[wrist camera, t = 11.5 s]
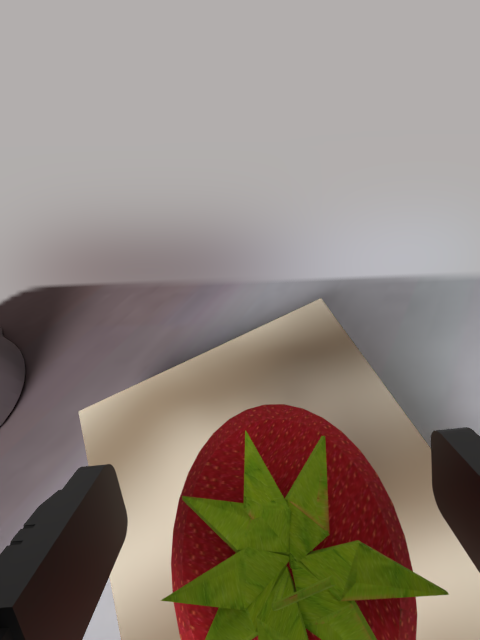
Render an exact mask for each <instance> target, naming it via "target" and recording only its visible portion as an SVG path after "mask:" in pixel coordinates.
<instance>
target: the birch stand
mask: <svg viewBox="0 0 480 640" xmlns="http://www.w3.org/2000/svg"><path fill="white" fill-rule="evenodd" d="M268 404H285V405H290V406H294V407H299V408H303V409H305V410H308V411H310V412H312V413H314V414H316V415H318V416H320V417H323V418H324V419H325V420H327V421H328V422H330V423H331V424H332V425H334V426H335V427H336V428H338V429H339V430H341V431H342V432H343V433H344V434H345V435H346V436H347V437H348V438H349V439H350V440H351V441H352V442H353V443H354V444H355V445H356V446H357V447H358V448H359V450H360V451H361V452H362V453H363V455H364V456H365V457H366V459H367V460H368V462H369V463H370V464H371V466H372V467H373V469H374V470H375V471H376V473H377V474H378V476H379V478H380V480H381V482H382V484H383V486H384V488H385V489H386V491H387V493H388V495H389V497H390V499H391V501H392V503H393V505H394V508H395V511H396V513H397V516H398V519H399V522H400V524H401V527H402V530H403V532H404V535H405V538H406V543H407V547H408V552H409V556H410V560H411V565H412V569H413V572H415V573H416V574H418V575H420V576H422V577H423V578H425V579H427V580H428V581H430V582H432V583H434V584H435V585H437V586H439V587H441V588H442V589H444V590H446V591H447V592H448V594H449V595H437V596H420V597H416V605H417V631H416V640H480V573H479V571H478V570H477V568H476V567H475V565H474V564H473V562H472V561H471V559H470V558H469V556H468V554H467V553H466V551H465V550H464V548H463V547H462V545H461V544H460V542H459V541H458V539H457V538H456V536H455V535H454V533H453V531H452V530H451V528H450V527H449V525H448V524H447V522H446V521H445V519H444V518H443V516H442V514H441V513H440V511H439V509H438V506H437V504H436V501H435V498H434V494H433V489H432V463H431V448H430V447H429V445H428V444H427V443H426V441H425V440H424V439H423V437H422V436H421V435H420V433H419V432H418V430H417V429H416V428H415V426H414V425H413V424H412V422H411V421H410V419H409V418H408V417H407V415H406V414H405V413H404V411H403V410H402V408H401V407H400V406H399V404H398V403H397V402H396V400H395V399H394V398H393V396H392V395H391V393H390V392H389V391H388V389H387V388H386V387H385V385H384V384H383V382H382V381H381V380H380V378H379V377H378V376H377V374H376V373H375V371H374V370H373V369H372V367H371V366H370V365H369V363H368V362H367V361H366V359H365V358H364V356H363V355H362V354H361V352H360V351H359V350H358V348H357V347H356V345H355V344H354V343H353V341H352V340H351V339H350V337H349V336H348V334H347V333H346V332H345V330H344V329H343V328H342V326H341V325H340V324H339V322H338V321H337V319H336V318H335V317H334V315H333V314H332V313H331V311H330V310H329V308H328V307H327V306H326V304H325V303H324V302H323V300H322V299H321V298H320V299H318V300H316V301H314V302H312V303H310V304H307V305H305V306H303V307H301V308H299V309H297V310H295V311H292V312H290V313H288V314H286V315H284V316H282V317H280V318H277V319H275V320H273V321H271V322H269V323H267V324H265V325H263V326H260V327H258V328H256V329H254V330H252V331H250V332H248V333H245V334H243V335H241V336H239V337H237V338H235V339H233V340H230V341H228V342H226V343H224V344H222V345H220V346H218V347H215V348H213V349H211V350H209V351H207V352H205V353H203V354H201V355H198V356H196V357H194V358H192V359H190V360H188V361H186V362H183V363H181V364H179V365H177V366H175V367H173V368H171V369H168V370H166V371H164V372H162V373H160V374H158V375H156V376H153V377H151V378H149V379H147V380H145V381H143V382H141V383H139V384H136V385H134V386H132V387H130V388H128V389H126V390H124V391H121V392H119V393H117V394H115V395H113V396H111V397H109V398H106V399H104V400H102V401H100V402H98V403H96V404H94V405H91V406H89V407H87V408H85V409H83V410H81V411H79V417H80V422H81V427H82V433H83V438H84V443H85V449H86V454H87V459H88V465H89V466H95V465H105V464H111V465H112V466H113V467H114V469H115V471H116V474H117V478H118V482H119V486H120V489H121V493H122V497H123V500H124V504H125V508H126V511H127V517H128V526H127V534H126V538H125V541H124V543H123V546H122V548H121V550H120V553H119V555H118V557H117V560H116V562H115V564H114V567H113V569H112V571H111V574H110V576H109V577H110V582H111V588H112V593H113V598H114V604H115V609H116V614H117V620H118V625H119V630H120V636H121V640H181V639H180V635H179V629H178V624H177V618H176V613H175V608H174V602H168V601H160V600H162V599H164V598H165V597H167V596H168V595H170V594H172V593H173V591H172V574H171V555H172V539H173V528H174V523H175V518H176V513H177V507H178V502H179V498H180V495H181V493H182V490H183V487H184V484H185V481H186V478H187V475H188V473H189V471H190V469H191V467H192V465H193V463H194V461H195V459H196V457H197V455H198V453H199V451H200V450H201V449H202V447H203V446H204V445H205V443H206V442H207V441H208V440H209V438H210V437H211V436H212V434H213V433H214V432H215V431H216V430H217V429H219V428H220V427H221V426H222V425H223V424H224V423H225V422H226V421H228V420H229V419H230V418H232V417H234V416H236V415H237V414H239V413H241V412H243V411H245V410H247V409H250V408H254V407H258V406H261V405H268Z"/></svg>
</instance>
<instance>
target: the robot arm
mask: <svg viewBox="0 0 480 640" xmlns="http://www.w3.org/2000/svg"><path fill="white" fill-rule="evenodd" d="M24 378H25V363H24V358H23V356H22V354H21V351H20V350H19V349H18V348H17V346H16V345H15V344H14V343H12V342H11V341H9V340H8V339H6V338H5V337H3V334H2V328H1V327H0V426H1V425H2V424H3V422H4V421H5V419H6V418H7V417H8V415H9V414H10V413H11V411H12V410H13V408H14V406H15V404H16V402H17V400H18V398H19V396H20V393H21V390H22V387H23V384H24ZM431 463H432V489H433V494H434V498H435V501H436V504H437V506H438V509H439V511H440V513H441V514H442V516H443V518H444V519H445V521H446V522H447V524H448V525H449V527H450V528H451V530H452V531H453V533H454V535H455V536H456V538H457V539H458V541H459V542H460V544H461V545H462V547H463V548H464V550H465V551H466V553H467V554H468V556H469V558H470V559H471V561H472V562H473V564H474V565H475V567H476V568H477V570H478V571H479V573H480V436H479V435H477V434H476V433H475V432H474V431H473V430H472V429H470V428H467V427H465V428H456V429H446V430H437V431H433V433H432V435H431ZM127 526H128V517H127V511H126V508H125V504H124V500H123V497H122V493H121V489H120V486H119V482H118V478H117V474H116V471H115V469H114V467H113V466H112V465H111V464H105V465H95V466H86V467H80V468H79V469H78V470H77V471H76V472H75V473H74V475H73V476H72V477H71V479H70V480H69V481H68V483H67V484H66V485H65V487H64V488H63V489H62V490H58V491H57V492H56V493H55V494H53V495H52V496H51V497H50V498H49V499H47V500H46V501H45V502H44V503H42V504H41V505H40V506H39V507H38V508H37V509H36V510H35V512H34V513H33V514H32V515H31V517H30V518H29V519H28V520H27V522H26V523H25V524H24V528H23V529H20V530H19V532H18V533H17V534H16V535H15V537H14V538H13V539H12V540H11V544H10V546H7V547H6V548H5V549H4V550H3V552H2V553H1V554H0V640H82V639H83V636H84V634H85V632H86V629H87V627H88V625H89V622H90V620H91V618H92V615H93V613H94V611H95V608H96V606H97V604H98V601H99V599H100V597H101V594H102V592H103V590H104V587H105V585H106V583H107V581H108V578H109V576H110V574H111V571H112V569H113V567H114V564H115V562H116V560H117V557H118V555H119V553H120V550H121V548H122V546H123V543H124V541H125V538H126V534H127Z"/></svg>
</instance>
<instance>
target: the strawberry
mask: <svg viewBox="0 0 480 640" xmlns="http://www.w3.org/2000/svg"><path fill="white" fill-rule="evenodd" d="M171 574H172V591H173V593H172V594H170V595H168V596H167V597H165V598H164V599H162V600H160V601H168V602H174V608H175V613H176V618H177V624H178V629H179V635H180V639H181V640H416V631H417V605H416V597H420V596H437V595H449V594H448V592H447V591H446V590H444V589H442V588H441V587H439V586H437V585H435V584H434V583H432V582H430V581H428V580H427V579H425V578H423V577H422V576H420V575H418V574H416V573H415V572H413V569H412V565H411V560H410V556H409V552H408V547H407V543H406V538H405V535H404V532H403V530H402V527H401V524H400V522H399V519H398V516H397V513H396V511H395V508H394V505H393V503H392V501H391V499H390V497H389V495H388V493H387V491H386V489H385V488H384V486H383V484H382V482H381V480H380V478H379V476H378V474H377V473H376V471H375V470H374V469H373V467H372V466H371V464H370V463H369V462H368V460H367V459H366V457H365V456H364V455H363V453H362V452H361V451H360V450H359V448H358V447H357V446H356V445H355V444H354V443H353V442H352V441H351V440H350V439H349V438H348V437H347V436H346V435H345V434H344V433H343V432H342V431H341V430H339V429H338V428H336V427H335V426H334V425H332V424H331V423H330V422H328V421H327V420H325V419H324V418H323V417H320V416H318V415H316V414H314V413H312V412H310V411H308V410H305V409H303V408H299V407H294V406H290V405H285V404H268V405H261V406H258V407H254V408H250V409H247V410H245V411H243V412H241V413H239V414H237V415H236V416H234V417H232V418H230V419H229V420H228V421H226V422H225V423H224V424H223V425H222V426H221V427H220V428H219V429H217V430H216V431H215V432H214V433H213V434H212V436H211V437H210V438H209V440H208V441H207V442H206V443H205V445H204V446H203V447H202V449H201V450H200V451H199V453H198V455H197V457H196V459H195V461H194V463H193V465H192V467H191V469H190V471H189V473H188V475H187V478H186V481H185V484H184V487H183V490H182V493H181V495H180V498H179V502H178V507H177V513H176V518H175V523H174V528H173V539H172V555H171Z"/></svg>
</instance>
